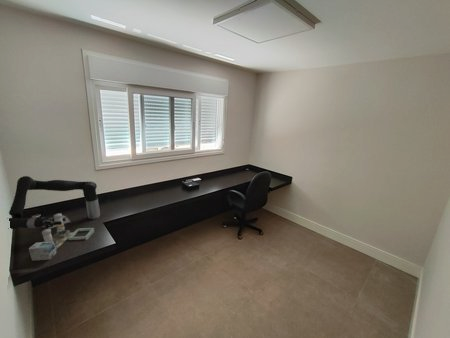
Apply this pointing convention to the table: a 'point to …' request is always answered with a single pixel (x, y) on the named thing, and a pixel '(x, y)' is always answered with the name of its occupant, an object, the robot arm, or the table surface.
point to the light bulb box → (42, 250)
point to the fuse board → (61, 238)
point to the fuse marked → (58, 218)
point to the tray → (91, 231)
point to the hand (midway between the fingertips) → (63, 221)
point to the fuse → (47, 235)
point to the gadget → (63, 222)
